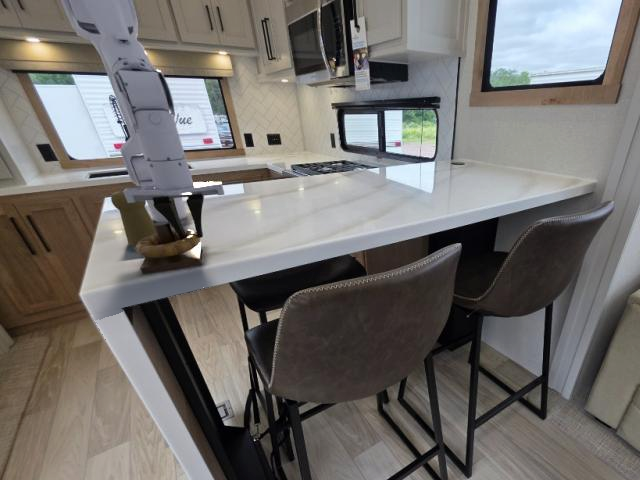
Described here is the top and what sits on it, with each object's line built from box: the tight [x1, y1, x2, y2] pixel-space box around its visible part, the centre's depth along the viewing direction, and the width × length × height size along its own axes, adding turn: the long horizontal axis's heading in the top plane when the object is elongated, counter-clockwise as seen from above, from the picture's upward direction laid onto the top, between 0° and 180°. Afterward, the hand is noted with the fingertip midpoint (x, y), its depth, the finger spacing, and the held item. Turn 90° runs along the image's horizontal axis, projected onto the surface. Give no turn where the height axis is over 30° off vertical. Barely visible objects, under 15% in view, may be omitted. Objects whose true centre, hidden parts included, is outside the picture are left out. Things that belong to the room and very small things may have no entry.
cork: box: [110, 189, 157, 247], centre depth 65 cm, size 6×6×11 cm
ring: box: [134, 228, 201, 258], centre depth 60 cm, size 10×10×2 cm
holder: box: [139, 221, 204, 275], centre depth 60 cm, size 9×9×7 cm
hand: (192, 237), depth 61 cm, fingers closed on ring, 2 cm apart
